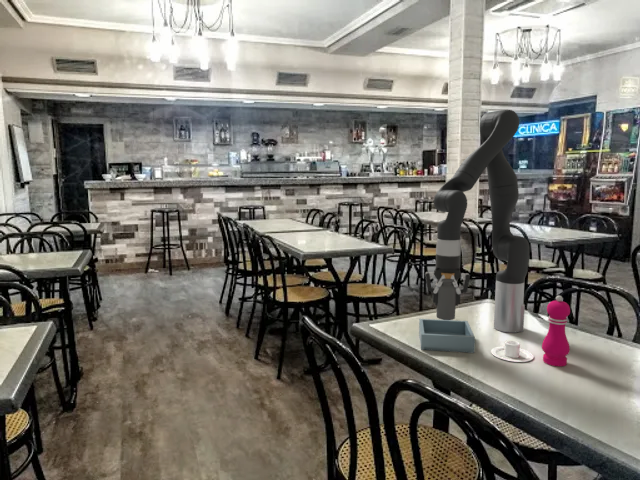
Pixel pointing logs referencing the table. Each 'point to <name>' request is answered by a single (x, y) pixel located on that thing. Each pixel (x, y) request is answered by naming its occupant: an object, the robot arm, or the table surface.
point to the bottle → (446, 298)
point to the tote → (446, 335)
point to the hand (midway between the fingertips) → (446, 304)
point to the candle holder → (512, 351)
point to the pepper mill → (556, 334)
